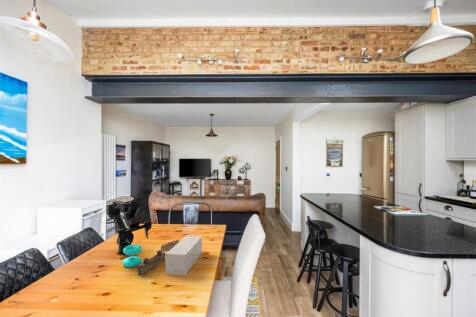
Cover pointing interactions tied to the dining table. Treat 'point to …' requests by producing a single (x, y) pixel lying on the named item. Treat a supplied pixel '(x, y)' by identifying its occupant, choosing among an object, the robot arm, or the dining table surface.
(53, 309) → the dining table surface
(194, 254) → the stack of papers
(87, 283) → the dining table surface
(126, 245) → the robot arm
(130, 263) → the donuts
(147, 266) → the bar
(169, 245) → the wooden fragment
